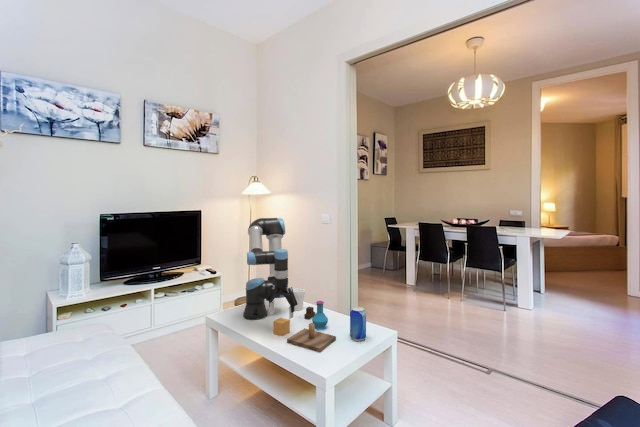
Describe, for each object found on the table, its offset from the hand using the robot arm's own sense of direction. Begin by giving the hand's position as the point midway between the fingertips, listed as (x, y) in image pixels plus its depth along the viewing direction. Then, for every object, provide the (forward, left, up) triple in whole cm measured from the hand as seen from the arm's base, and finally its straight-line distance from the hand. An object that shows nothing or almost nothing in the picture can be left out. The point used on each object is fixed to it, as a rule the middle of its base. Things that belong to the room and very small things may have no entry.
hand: (281, 315), depth 171 cm
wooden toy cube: (0, 0, -10) cm, 10 cm away
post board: (+20, 0, -10) cm, 22 cm away
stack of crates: (+1, +28, -11) cm, 30 cm away
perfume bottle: (+14, +18, -10) cm, 25 cm away
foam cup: (-15, +36, -10) cm, 41 cm away
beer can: (+39, +16, -10) cm, 43 cm away
